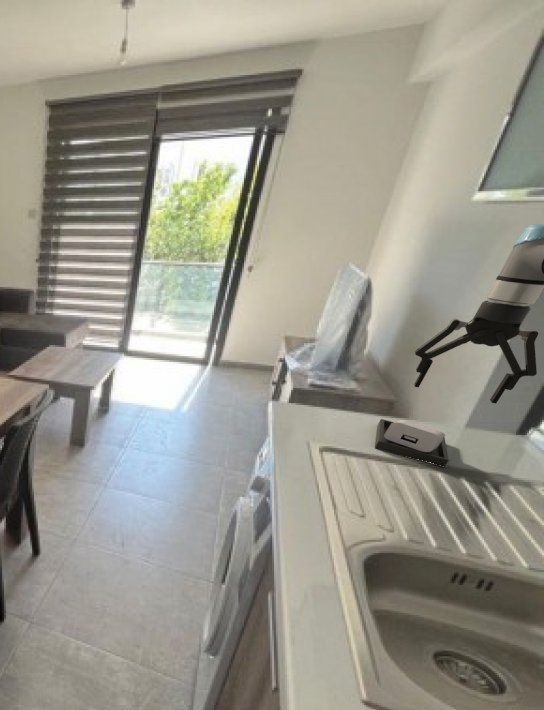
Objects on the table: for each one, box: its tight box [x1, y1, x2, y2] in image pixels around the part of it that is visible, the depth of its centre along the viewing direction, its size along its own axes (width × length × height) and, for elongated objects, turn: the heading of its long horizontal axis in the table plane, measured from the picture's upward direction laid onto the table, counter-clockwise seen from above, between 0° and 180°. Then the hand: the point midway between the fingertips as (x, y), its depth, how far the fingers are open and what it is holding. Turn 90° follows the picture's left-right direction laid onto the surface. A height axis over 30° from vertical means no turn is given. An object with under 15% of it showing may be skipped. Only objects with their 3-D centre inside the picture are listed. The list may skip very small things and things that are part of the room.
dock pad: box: [374, 418, 450, 468], centre depth 122 cm, size 13×19×2 cm
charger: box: [384, 419, 446, 452], centre depth 121 cm, size 5×9×15 cm
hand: (453, 393), depth 114 cm, fingers open, 13 cm apart
